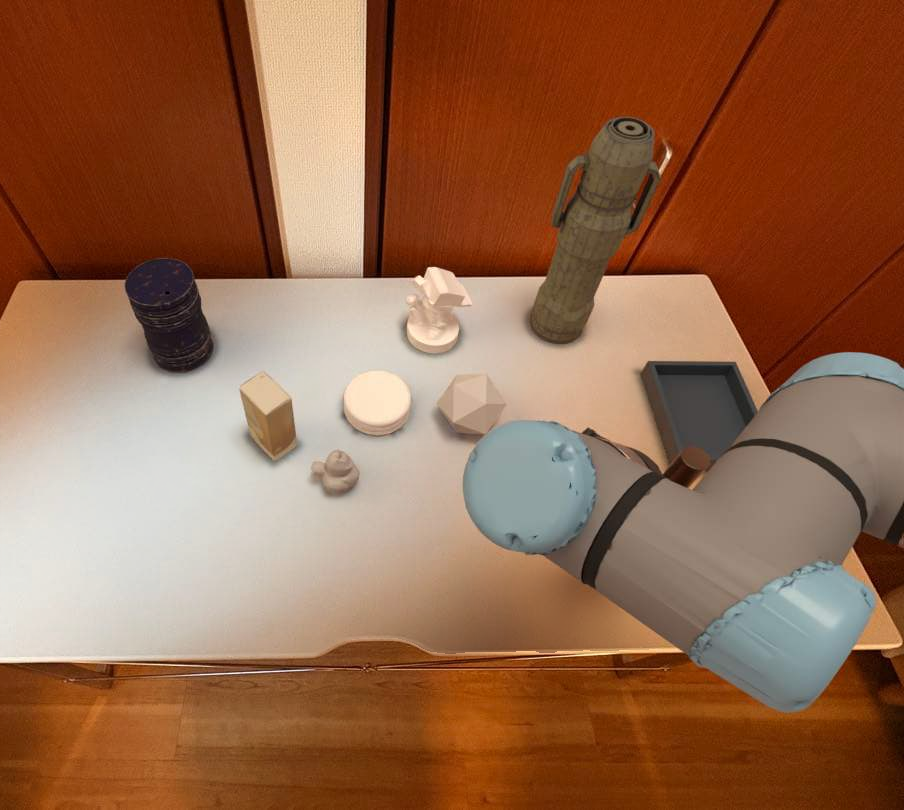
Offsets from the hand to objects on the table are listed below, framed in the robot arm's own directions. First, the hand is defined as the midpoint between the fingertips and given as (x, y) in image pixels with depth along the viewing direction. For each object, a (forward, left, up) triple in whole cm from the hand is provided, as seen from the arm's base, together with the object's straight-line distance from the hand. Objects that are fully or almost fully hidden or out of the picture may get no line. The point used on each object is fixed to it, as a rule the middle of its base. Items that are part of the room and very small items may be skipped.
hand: (674, 498), depth 63 cm
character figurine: (+45, -1, -19) cm, 49 cm away
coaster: (+36, +15, -19) cm, 43 cm away
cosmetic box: (+38, +31, -19) cm, 52 cm away
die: (+28, +4, -19) cm, 34 cm away
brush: (0, +4, -7) cm, 8 cm away
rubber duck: (+28, +26, -19) cm, 42 cm away
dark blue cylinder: (+61, +37, -19) cm, 74 cm away
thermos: (+37, -20, -19) cm, 46 cm away
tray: (+11, -27, -19) cm, 35 cm away
